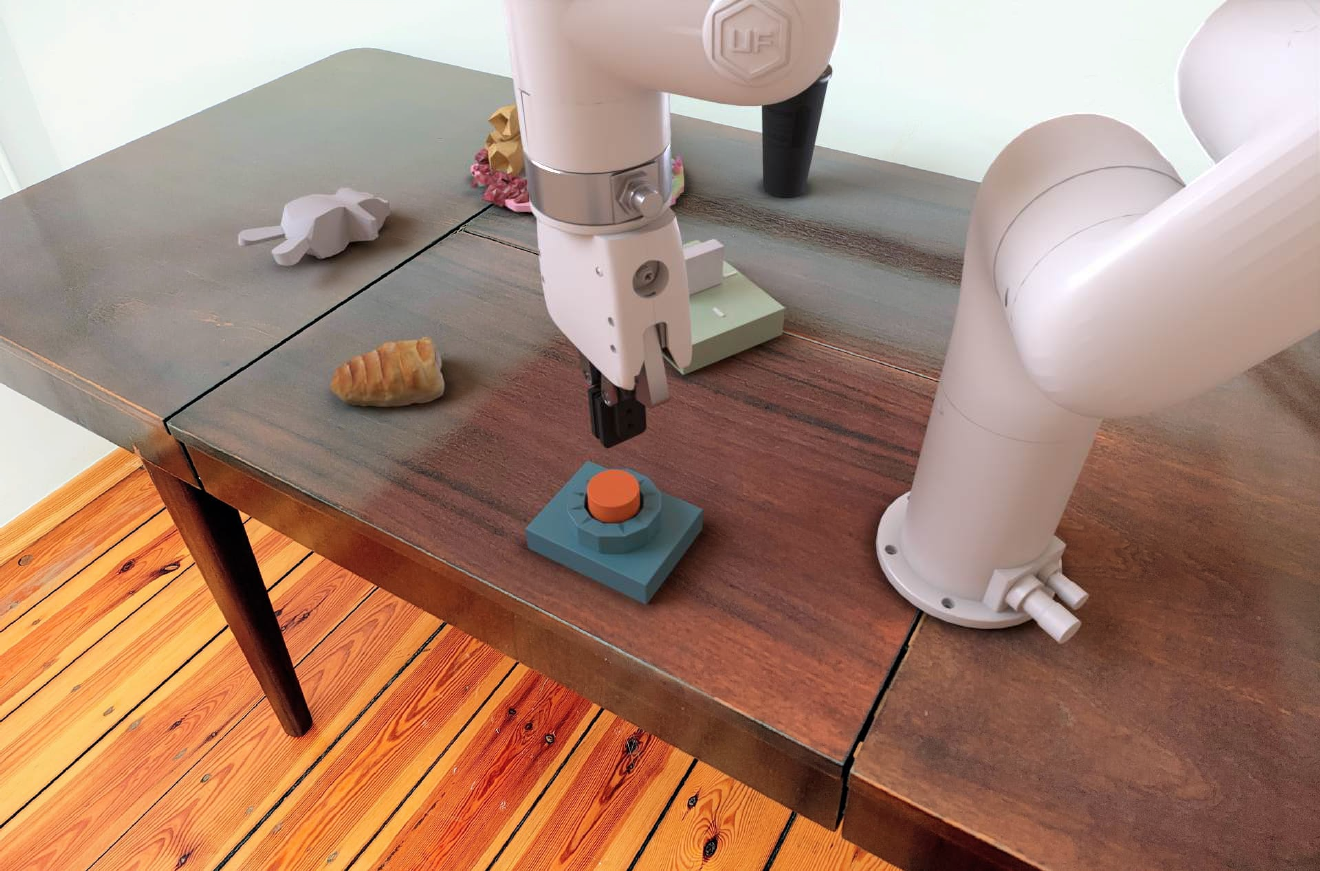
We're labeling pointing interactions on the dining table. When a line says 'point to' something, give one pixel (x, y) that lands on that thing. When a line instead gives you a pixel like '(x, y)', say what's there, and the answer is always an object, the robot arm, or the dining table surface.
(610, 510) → the button
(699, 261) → the white block with red
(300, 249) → the bunny figurine
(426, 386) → the pastry
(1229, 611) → the dining table surface
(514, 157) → the pastel sphere sculpture
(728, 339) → the panel
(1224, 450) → the dining table surface
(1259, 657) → the dining table surface
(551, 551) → the button block
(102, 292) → the dining table surface
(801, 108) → the drinking cup
